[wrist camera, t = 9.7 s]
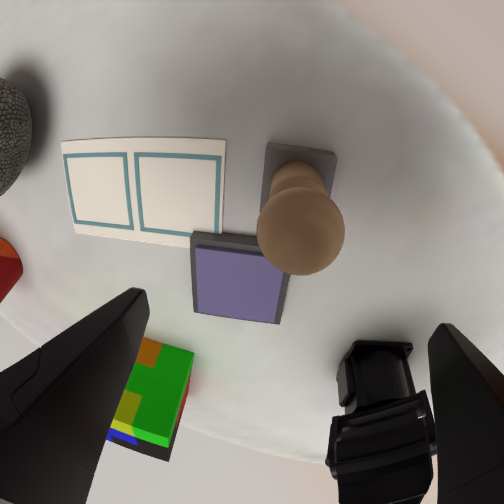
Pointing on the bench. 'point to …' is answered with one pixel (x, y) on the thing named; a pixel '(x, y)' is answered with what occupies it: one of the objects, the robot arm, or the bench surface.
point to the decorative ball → (13, 133)
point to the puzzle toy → (153, 400)
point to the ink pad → (235, 278)
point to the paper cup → (8, 268)
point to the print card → (145, 187)
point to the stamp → (299, 210)
